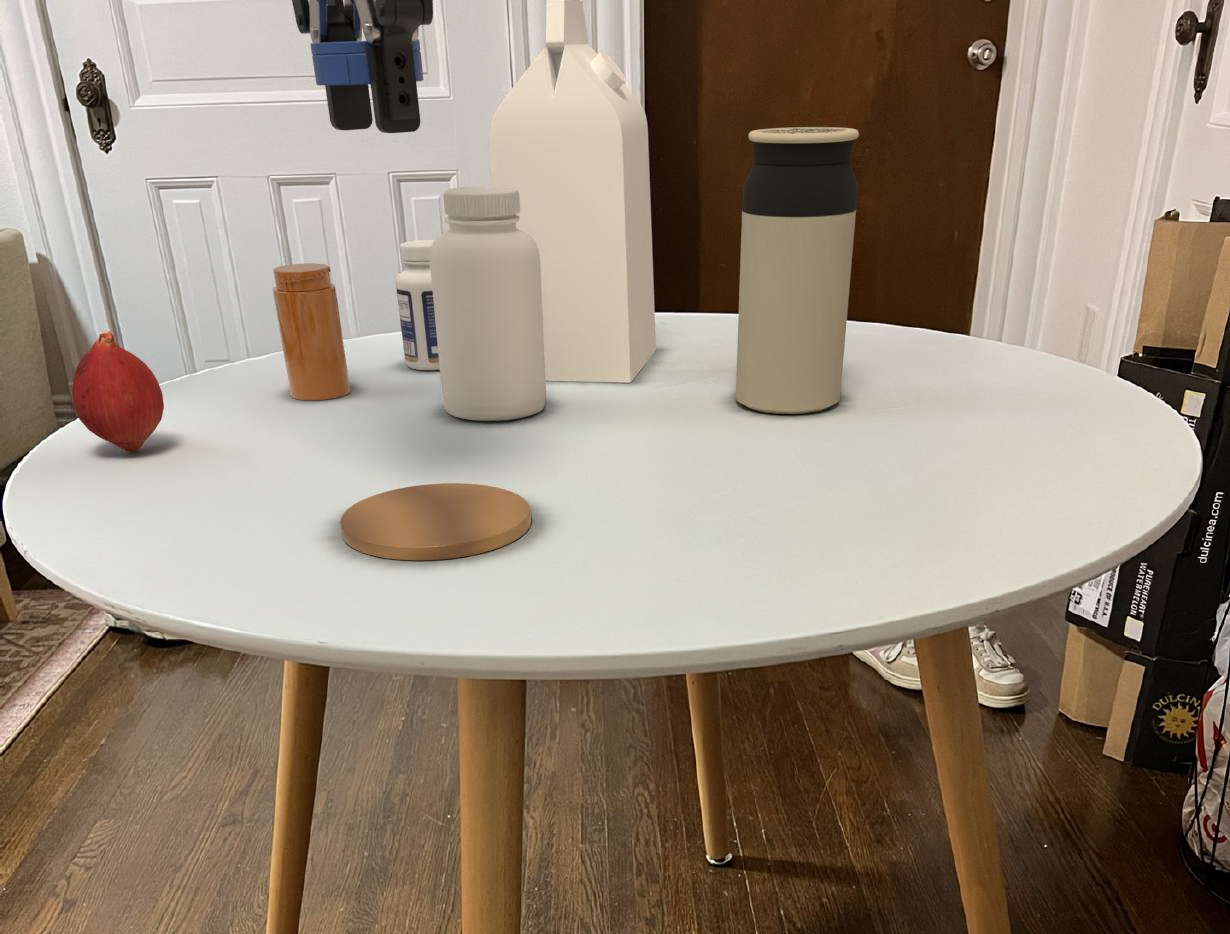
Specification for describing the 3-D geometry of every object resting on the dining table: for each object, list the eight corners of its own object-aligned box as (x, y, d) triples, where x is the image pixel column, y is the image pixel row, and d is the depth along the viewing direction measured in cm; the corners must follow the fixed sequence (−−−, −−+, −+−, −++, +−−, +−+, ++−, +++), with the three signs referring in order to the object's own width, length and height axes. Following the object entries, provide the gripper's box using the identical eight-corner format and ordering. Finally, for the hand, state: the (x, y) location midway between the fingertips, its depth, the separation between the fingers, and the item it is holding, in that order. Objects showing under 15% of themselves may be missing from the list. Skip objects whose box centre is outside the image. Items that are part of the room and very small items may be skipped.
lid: (400, 83, 57) (395, 39, 56) (297, 86, 58) (291, 43, 57) (438, 79, 62) (434, 38, 61) (342, 82, 63) (336, 42, 62)
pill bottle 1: (475, 358, 104) (464, 238, 98) (454, 372, 99) (442, 247, 94) (418, 356, 105) (405, 237, 99) (396, 370, 100) (381, 247, 95)
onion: (88, 468, 79) (54, 344, 74) (88, 446, 83) (55, 328, 79) (177, 457, 80) (148, 335, 76) (172, 436, 85) (144, 319, 80)
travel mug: (845, 415, 85) (870, 132, 75) (737, 416, 86) (748, 135, 76) (833, 388, 92) (854, 125, 82) (733, 389, 92) (742, 128, 82)
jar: (301, 403, 92) (280, 274, 87) (283, 391, 95) (261, 266, 90) (358, 394, 94) (341, 268, 89) (338, 383, 97) (320, 260, 92)
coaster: (388, 576, 61) (386, 562, 61) (314, 519, 69) (312, 506, 68) (566, 533, 66) (565, 519, 66) (478, 484, 74) (477, 471, 73)
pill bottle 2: (568, 410, 88) (558, 188, 80) (478, 430, 84) (458, 198, 76) (511, 391, 93) (497, 181, 85) (425, 408, 90) (400, 190, 81)
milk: (533, 348, 107) (513, 5, 92) (655, 350, 105) (654, 0, 90) (496, 379, 97) (467, 1, 83) (630, 382, 95) (624, -5, 80)
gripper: (467, -339, 48) (502, 130, 58) (336, -266, 58) (384, 123, 68) (296, -361, 45) (363, 140, 54) (189, -280, 55) (261, 131, 64)
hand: (374, 129), depth 61 cm, fingers closed on lid, 5 cm apart
